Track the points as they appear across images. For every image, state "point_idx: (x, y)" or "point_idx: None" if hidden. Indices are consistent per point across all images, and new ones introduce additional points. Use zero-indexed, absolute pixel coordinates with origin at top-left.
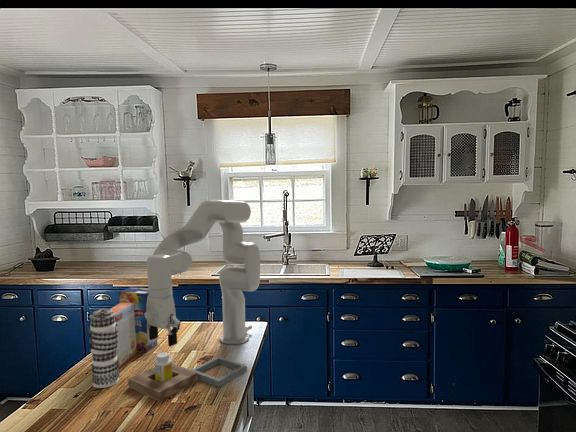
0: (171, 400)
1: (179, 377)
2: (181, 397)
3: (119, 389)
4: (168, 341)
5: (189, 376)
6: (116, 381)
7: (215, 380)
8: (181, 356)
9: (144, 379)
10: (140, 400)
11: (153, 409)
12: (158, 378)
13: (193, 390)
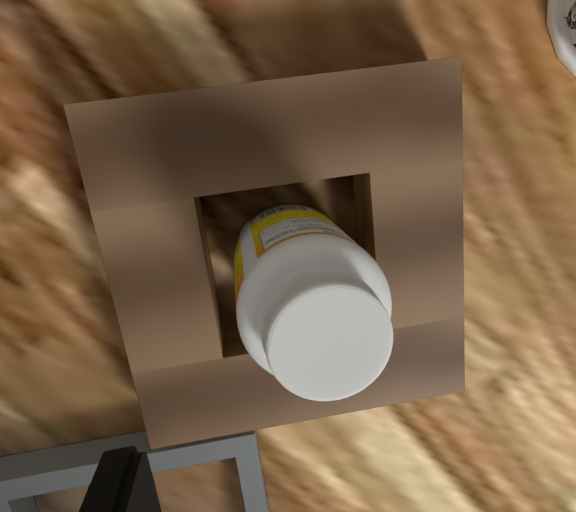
0: (45, 172)
1: (179, 332)
2: (37, 238)
3: (459, 5)
4: (101, 509)
5: (139, 385)
6: (562, 40)
7: (11, 477)
8: (508, 490)
9: (351, 140)
10: (202, 23)
11: (12, 16)
12: (273, 217)
13: (69, 335)
